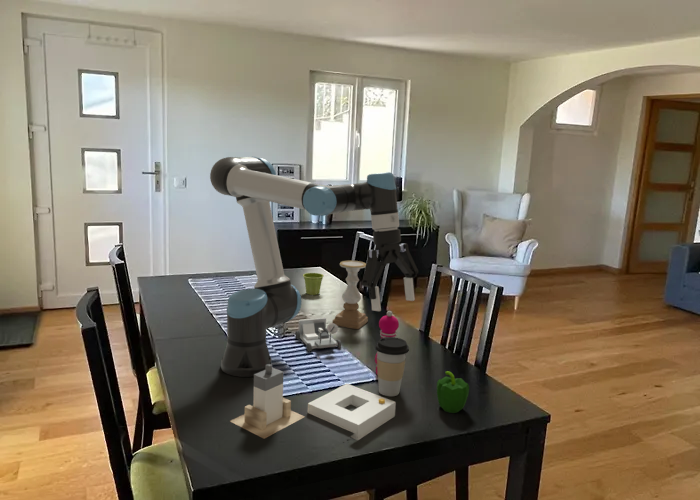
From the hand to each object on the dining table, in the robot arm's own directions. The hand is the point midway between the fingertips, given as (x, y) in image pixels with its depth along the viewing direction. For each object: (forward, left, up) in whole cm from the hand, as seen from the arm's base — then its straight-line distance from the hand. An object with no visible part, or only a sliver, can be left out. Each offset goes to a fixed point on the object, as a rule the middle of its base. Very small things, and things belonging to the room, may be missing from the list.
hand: (393, 305), depth 154 cm
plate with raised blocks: (-11, -37, -25) cm, 46 cm away
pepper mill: (-7, +9, -25) cm, 28 cm away
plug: (-11, -37, -24) cm, 45 cm away
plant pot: (-82, +60, -25) cm, 105 cm away
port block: (+2, -20, -25) cm, 32 cm away
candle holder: (-44, +39, -25) cm, 64 cm away
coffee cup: (+1, -1, -25) cm, 25 cm away
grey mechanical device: (-38, +14, -26) cm, 48 cm away
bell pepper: (+19, +2, -25) cm, 32 cm away
